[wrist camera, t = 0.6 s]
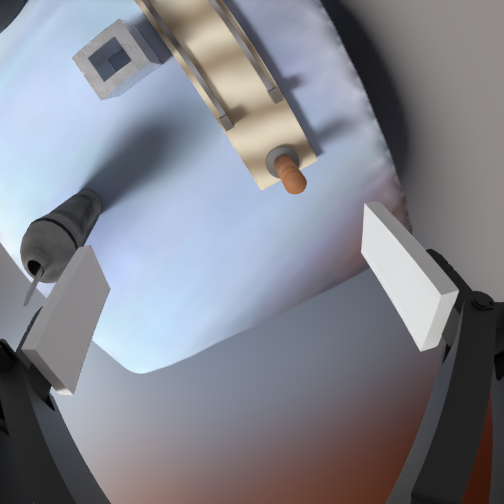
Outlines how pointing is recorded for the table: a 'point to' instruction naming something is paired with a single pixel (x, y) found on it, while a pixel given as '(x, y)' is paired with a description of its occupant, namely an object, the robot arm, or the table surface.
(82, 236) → the beverage cup
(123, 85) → the link
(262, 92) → the board
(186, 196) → the table surface
